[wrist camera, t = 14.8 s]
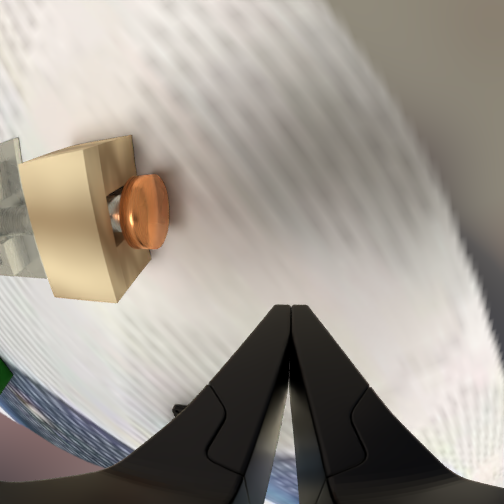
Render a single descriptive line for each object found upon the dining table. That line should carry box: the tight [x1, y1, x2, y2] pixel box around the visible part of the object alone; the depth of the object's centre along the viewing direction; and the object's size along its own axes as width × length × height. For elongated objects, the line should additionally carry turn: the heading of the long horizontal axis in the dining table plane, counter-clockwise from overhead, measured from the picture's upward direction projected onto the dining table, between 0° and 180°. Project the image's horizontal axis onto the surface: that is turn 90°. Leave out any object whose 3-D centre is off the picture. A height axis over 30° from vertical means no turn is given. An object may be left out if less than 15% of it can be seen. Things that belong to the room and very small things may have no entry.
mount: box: [18, 135, 151, 303], centre depth 18 cm, size 9×5×5 cm, turn 3°
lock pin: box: [0, 174, 169, 249], centre depth 18 cm, size 4×15×4 cm, turn 93°
